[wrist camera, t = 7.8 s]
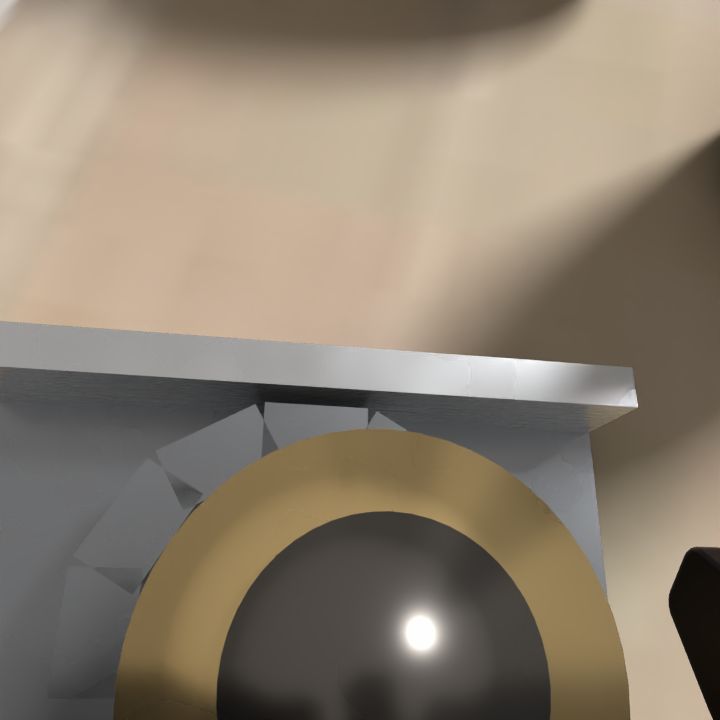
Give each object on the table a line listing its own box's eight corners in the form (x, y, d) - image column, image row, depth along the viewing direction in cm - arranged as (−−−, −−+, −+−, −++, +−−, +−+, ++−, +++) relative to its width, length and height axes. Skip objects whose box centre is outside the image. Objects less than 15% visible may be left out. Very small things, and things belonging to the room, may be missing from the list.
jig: (634, 1070, 14) (748, 1207, 11) (-148, 1137, 12) (-293, 1331, 9) (569, 406, 19) (632, 367, 16) (16, 372, 17) (-38, 318, 14)
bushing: (425, 694, 15) (732, 849, 5) (235, 782, 14) (203, 1174, 4) (356, 507, 16) (509, 367, 7) (176, 573, 15) (51, 520, 5)
